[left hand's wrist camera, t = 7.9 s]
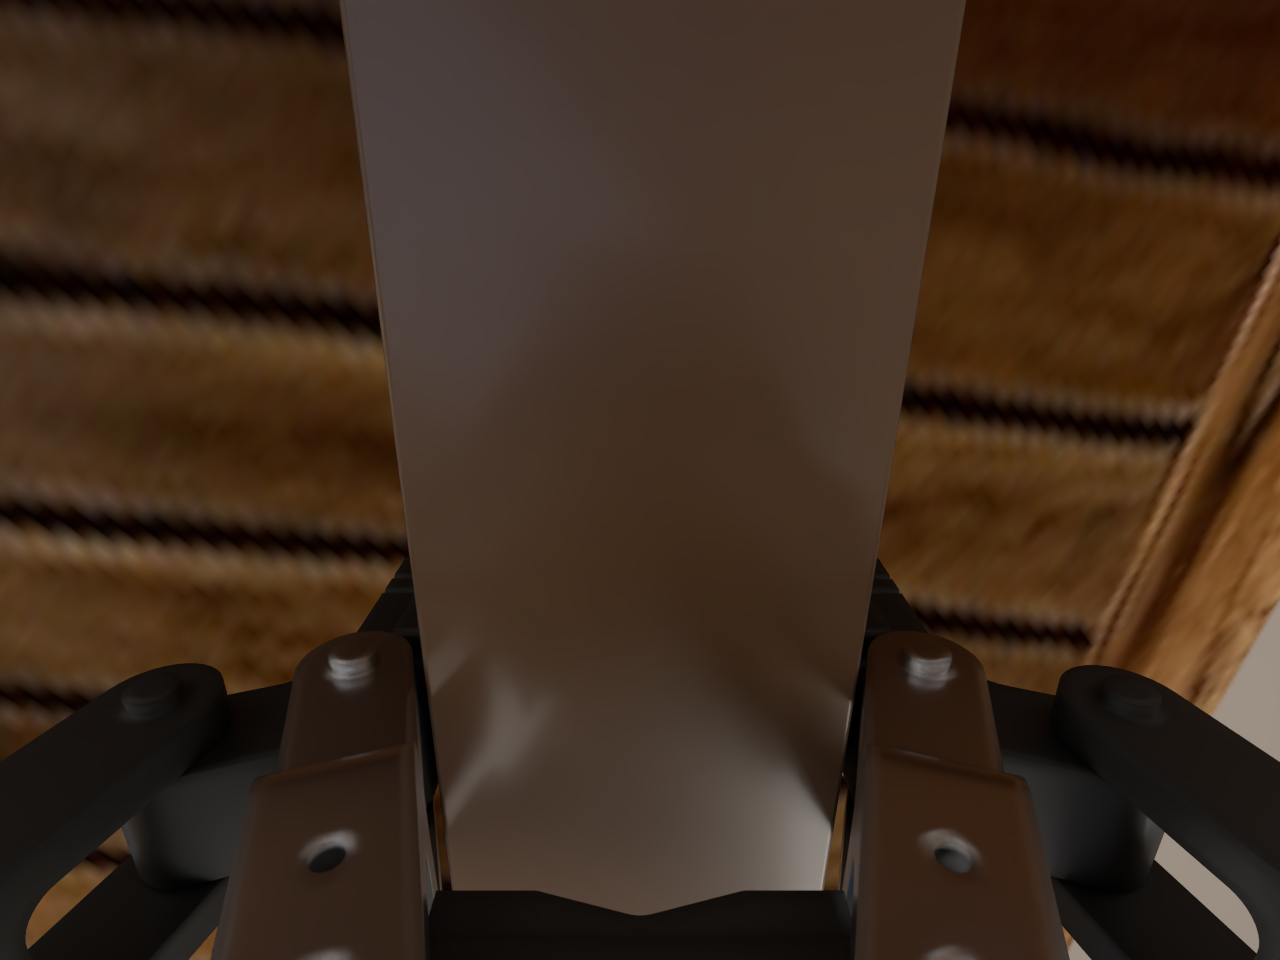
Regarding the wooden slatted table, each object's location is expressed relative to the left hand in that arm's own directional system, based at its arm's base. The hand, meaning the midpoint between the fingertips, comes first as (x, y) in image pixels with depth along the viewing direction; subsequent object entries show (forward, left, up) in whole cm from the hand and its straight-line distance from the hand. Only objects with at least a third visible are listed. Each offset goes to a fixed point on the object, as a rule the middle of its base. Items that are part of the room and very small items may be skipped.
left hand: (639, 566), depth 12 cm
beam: (+23, +5, -3) cm, 24 cm away
